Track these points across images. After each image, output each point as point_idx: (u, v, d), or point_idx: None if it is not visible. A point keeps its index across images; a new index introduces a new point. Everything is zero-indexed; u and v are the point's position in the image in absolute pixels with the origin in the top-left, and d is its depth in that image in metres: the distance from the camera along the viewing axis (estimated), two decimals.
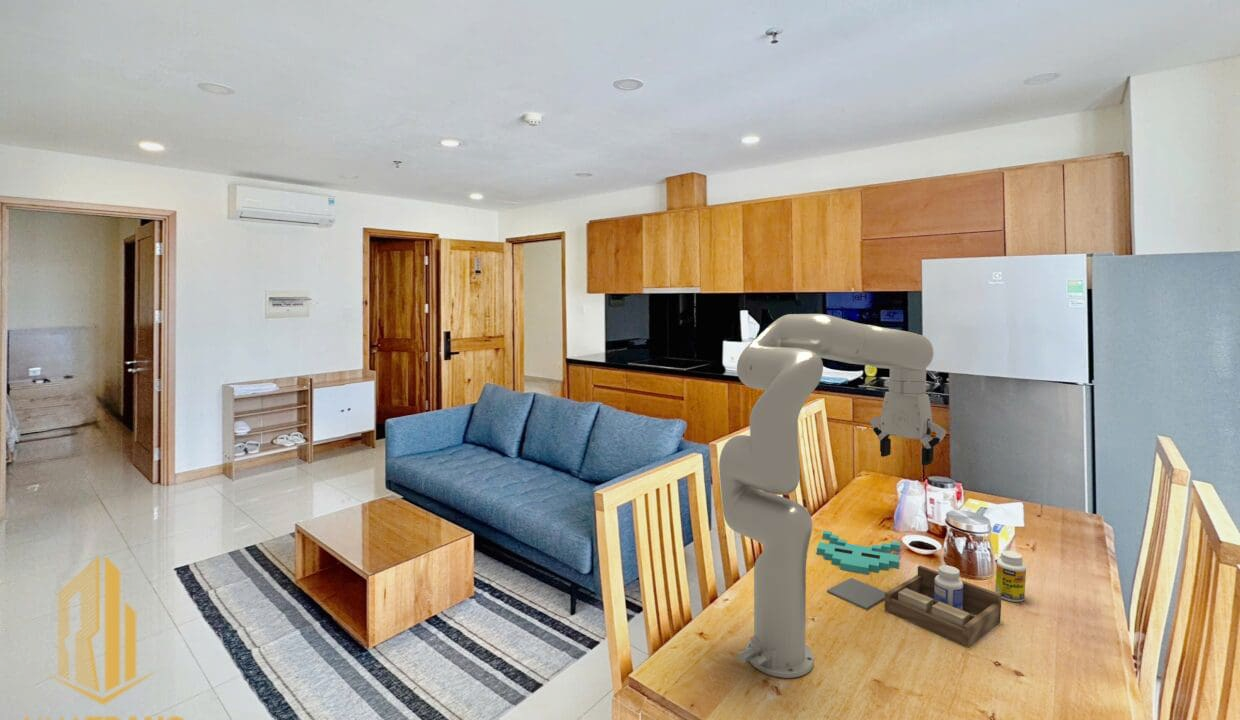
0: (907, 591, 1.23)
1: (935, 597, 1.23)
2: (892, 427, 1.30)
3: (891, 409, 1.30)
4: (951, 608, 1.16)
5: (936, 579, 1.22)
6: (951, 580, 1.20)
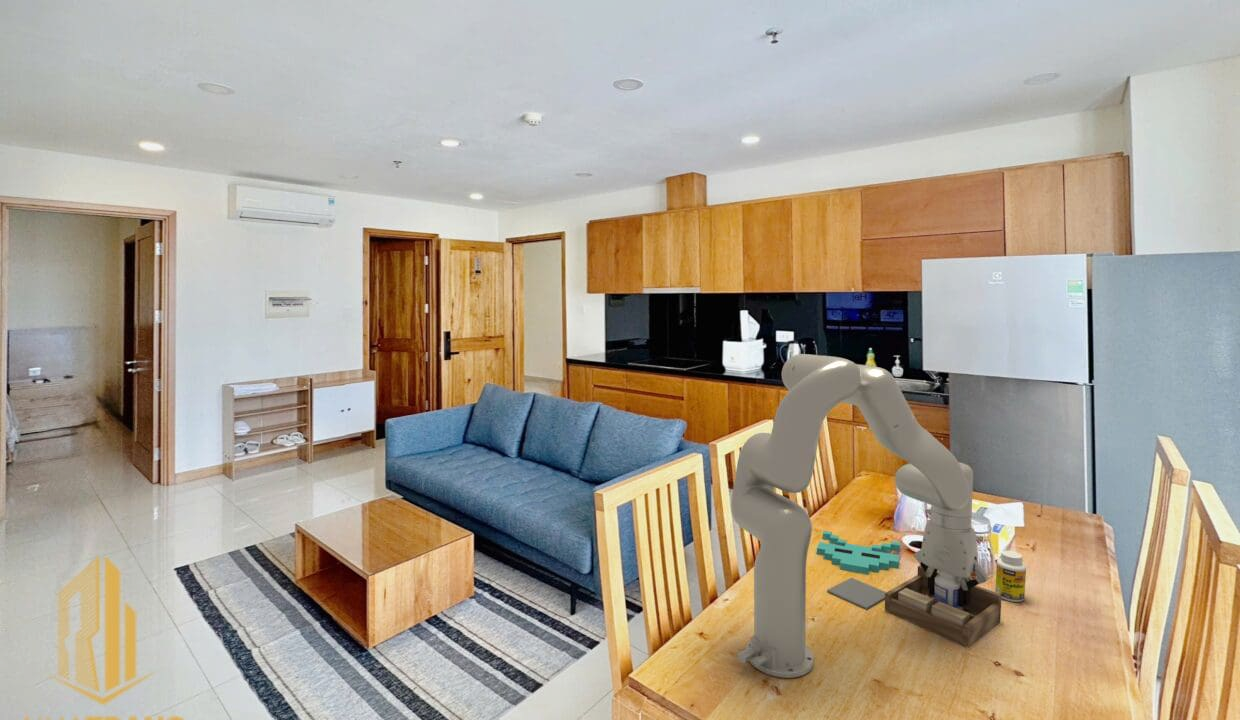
0: (907, 591, 1.23)
1: (935, 597, 1.23)
2: (934, 561, 1.21)
3: (933, 541, 1.21)
4: (951, 608, 1.16)
5: (936, 579, 1.22)
6: (951, 580, 1.20)
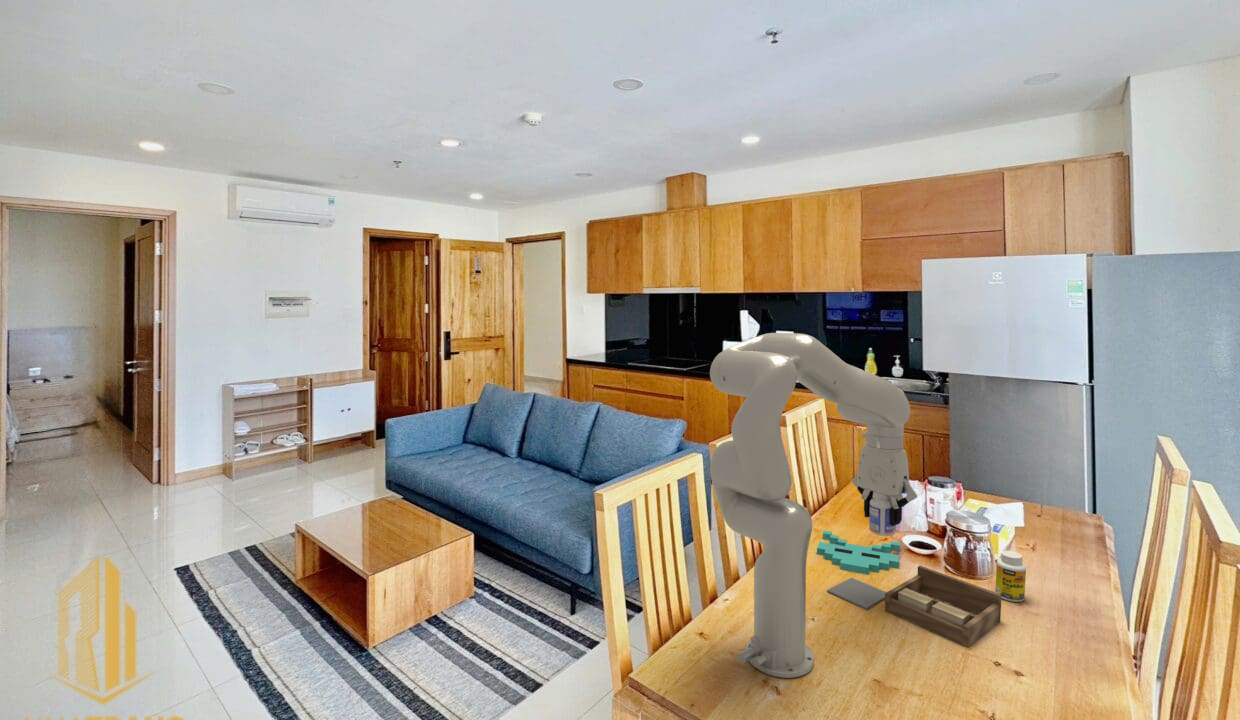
0: (907, 591, 1.23)
1: (870, 518, 1.27)
2: (868, 482, 1.26)
3: (867, 463, 1.26)
4: (951, 608, 1.16)
5: (871, 500, 1.27)
6: (884, 500, 1.25)
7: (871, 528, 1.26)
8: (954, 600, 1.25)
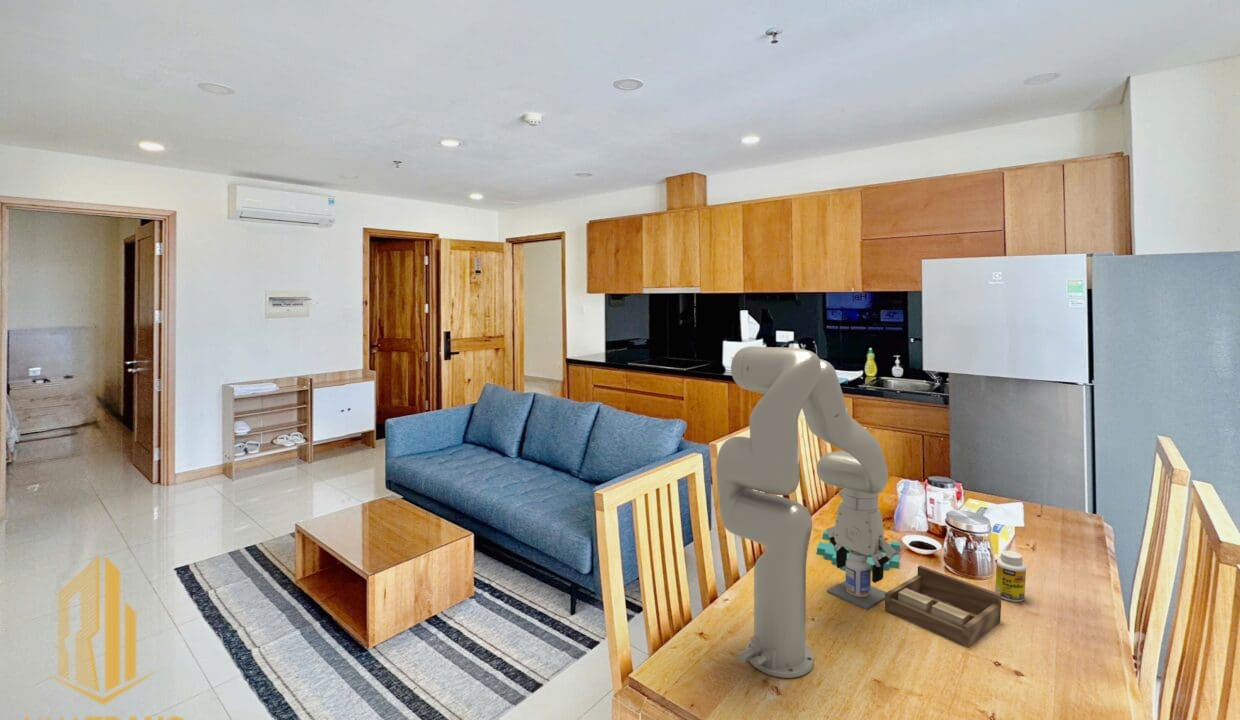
0: (907, 591, 1.23)
1: (846, 578, 1.31)
2: (845, 540, 1.29)
3: (844, 522, 1.29)
4: (951, 608, 1.16)
5: (846, 561, 1.30)
6: (859, 562, 1.28)
7: (847, 588, 1.30)
8: (954, 600, 1.25)
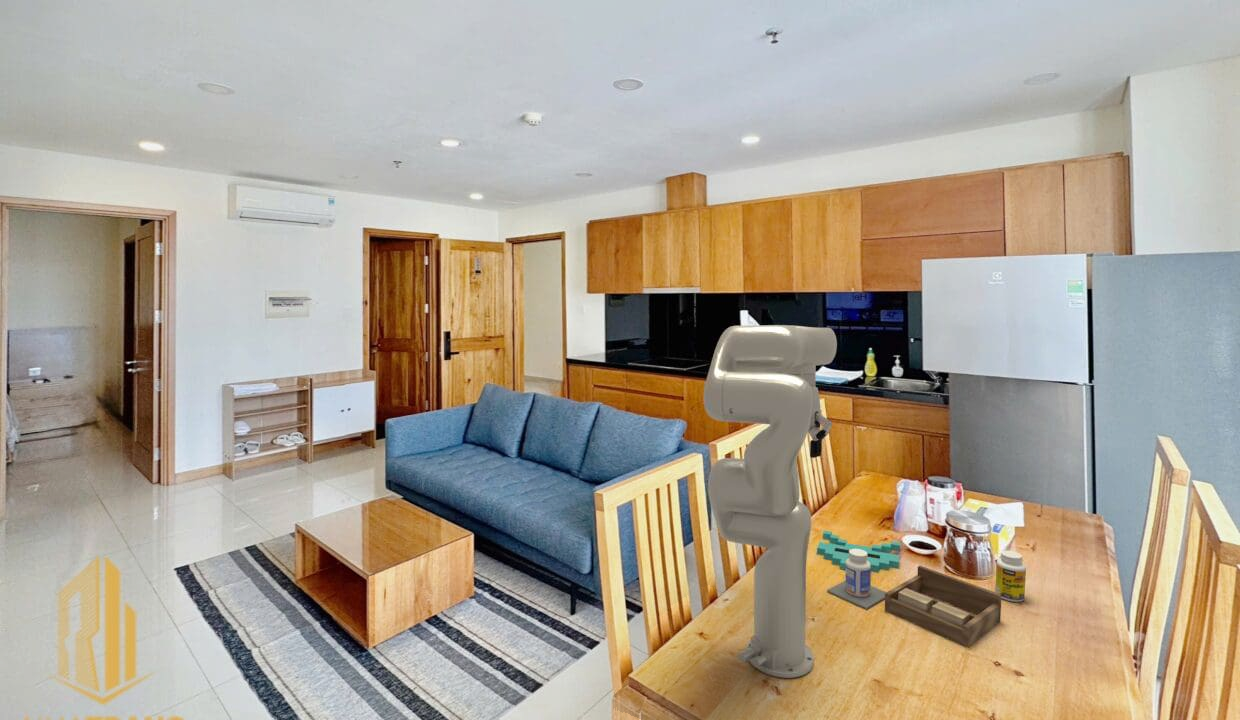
0: (907, 591, 1.23)
1: (846, 578, 1.31)
2: None
3: None
4: (951, 608, 1.16)
5: (846, 561, 1.30)
6: (859, 562, 1.28)
7: (847, 588, 1.30)
8: (954, 600, 1.25)
